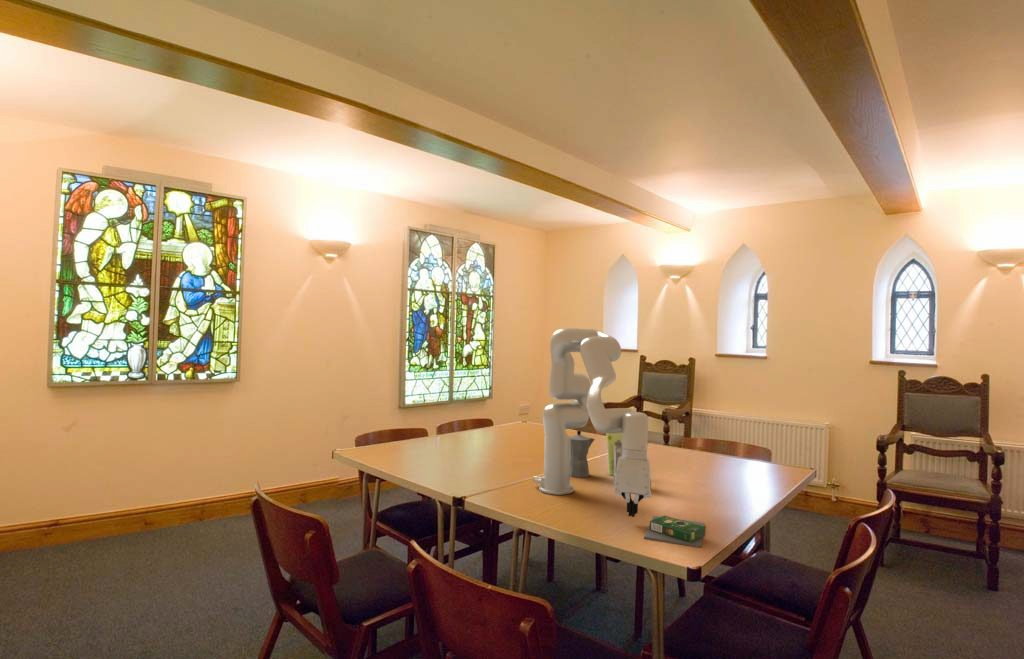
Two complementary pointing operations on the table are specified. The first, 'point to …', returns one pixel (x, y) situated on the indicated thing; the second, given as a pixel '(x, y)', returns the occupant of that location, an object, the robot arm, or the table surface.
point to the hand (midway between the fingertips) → (632, 515)
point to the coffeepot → (579, 455)
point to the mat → (665, 538)
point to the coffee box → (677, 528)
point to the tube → (612, 449)
